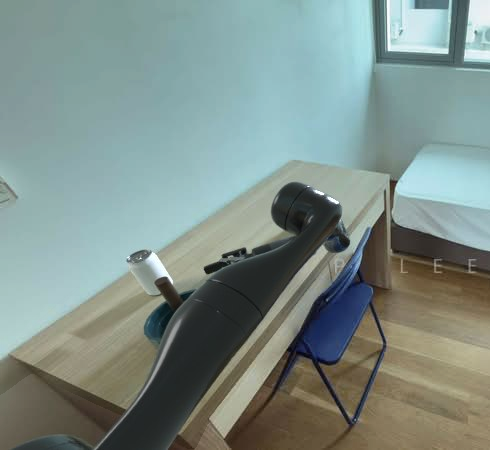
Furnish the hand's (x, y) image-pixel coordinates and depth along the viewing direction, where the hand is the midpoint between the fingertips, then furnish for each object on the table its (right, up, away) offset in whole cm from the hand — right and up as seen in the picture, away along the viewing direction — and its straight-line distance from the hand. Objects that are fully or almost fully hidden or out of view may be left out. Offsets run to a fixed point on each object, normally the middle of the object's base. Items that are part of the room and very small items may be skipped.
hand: (206, 281), depth 73 cm
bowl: (-6, -12, +3) cm, 14 cm away
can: (-22, -5, +15) cm, 27 cm away
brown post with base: (-6, -11, +3) cm, 13 cm away
